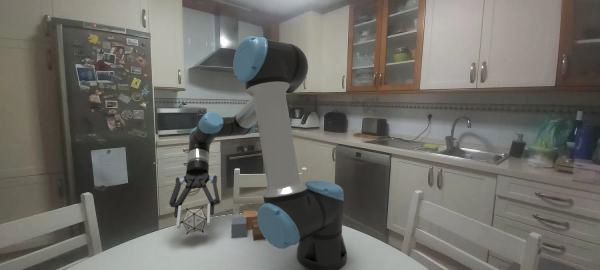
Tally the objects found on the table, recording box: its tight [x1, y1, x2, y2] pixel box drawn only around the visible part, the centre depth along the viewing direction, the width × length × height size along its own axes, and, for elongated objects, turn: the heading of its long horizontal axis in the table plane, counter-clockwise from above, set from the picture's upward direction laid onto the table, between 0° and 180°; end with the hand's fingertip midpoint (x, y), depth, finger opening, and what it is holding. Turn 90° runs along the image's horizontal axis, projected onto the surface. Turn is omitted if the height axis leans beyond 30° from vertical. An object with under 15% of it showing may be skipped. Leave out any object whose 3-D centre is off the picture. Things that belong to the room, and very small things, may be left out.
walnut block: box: [251, 220, 267, 241], centre depth 92 cm, size 5×5×5 cm
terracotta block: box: [242, 210, 258, 231], centre depth 98 cm, size 5×5×5 cm
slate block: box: [230, 216, 247, 239], centre depth 93 cm, size 5×5×5 cm
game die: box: [180, 206, 207, 235], centre depth 87 cm, size 9×8×10 cm
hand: (193, 225), depth 84 cm, fingers closed on game die, 8 cm apart
